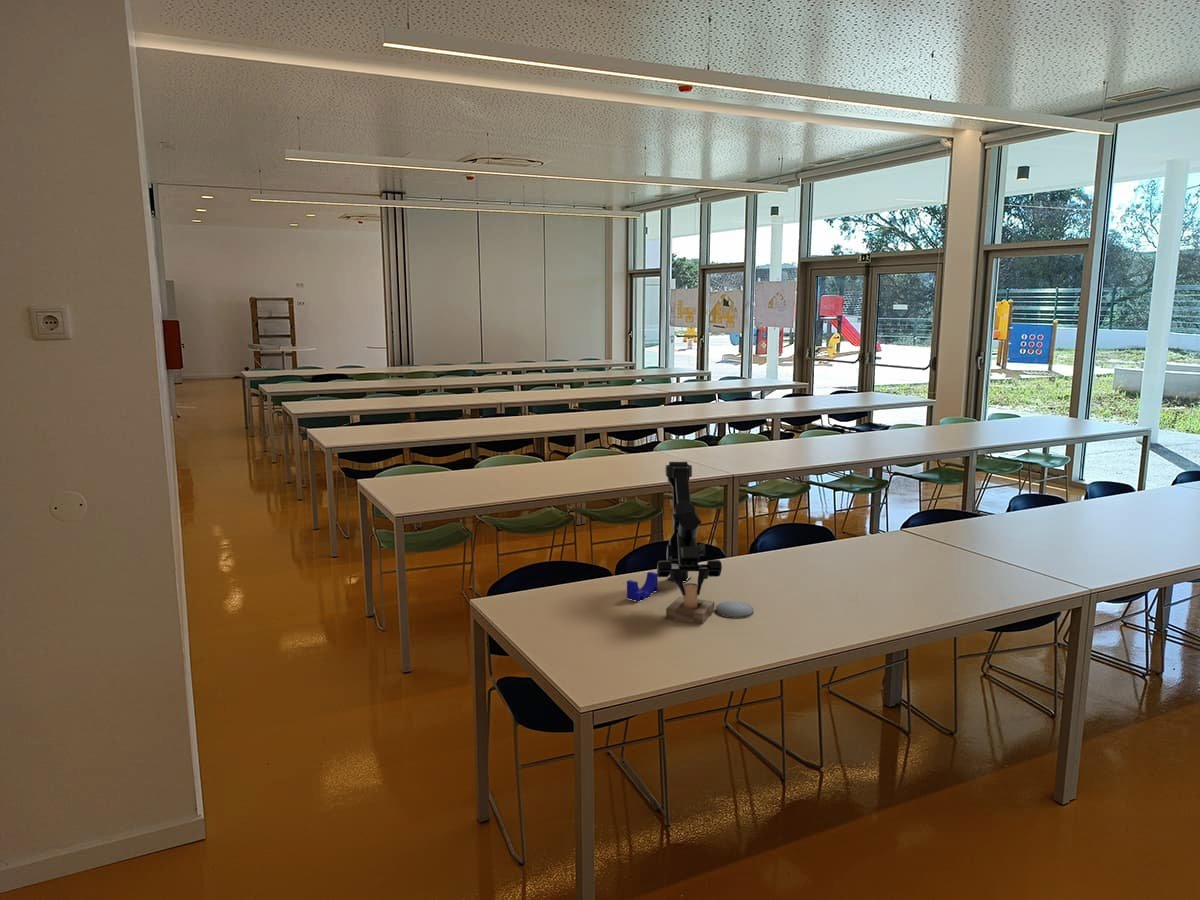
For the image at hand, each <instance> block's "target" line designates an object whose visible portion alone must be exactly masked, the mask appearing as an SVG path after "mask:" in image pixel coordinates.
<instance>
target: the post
mask: <svg viewBox="0 0 1200 900" xmlns="http://www.w3.org/2000/svg"><path fill="white" fill-rule="evenodd" d="M683 586H684V596H683V597H684V608H690V609H697V599H699V598H698V597H699V595H698V583H692V582H689V583H688V582H685V583H683Z"/></svg>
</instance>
